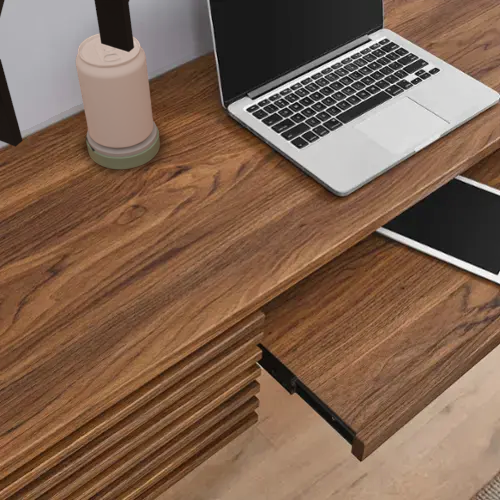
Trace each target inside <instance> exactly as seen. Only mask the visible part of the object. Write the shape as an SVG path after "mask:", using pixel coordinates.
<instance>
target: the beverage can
mask: <svg viewBox="0 0 500 500" xmlns="http://www.w3.org/2000/svg"><path fill="white" fill-rule="evenodd" d="M133 42H134V48H133V49H132V50H131V51H130V52H127V51H123V50H120V49H117V48H114V47H111V46H108V45H104V44H101V39H100V33H96V34H92V35H89V36H88V37H87V38H85V39H83V40H82V41H81V42H80V44H79V46H78V49H77V54H76V57H75V66H76V73H77V78H78V83H79V88H80V94H81V99H82V105H83V110H84V116H85V119H86V125H87V131H89V135H90V137H91V138H92V139H93V140H94V141H95V142H97V143H98V144H100V145H103V146H106V147H111V148H124V147H129V146H133V145H136V144H138V143H140V142H142V141H144V140H145V139H146V138H147V137H148V136H149V135H150V134H151V132H152V130H153V121H154V118H153V110H152V109H153V108H152V100H151V92H150V81H149V72H148V64H147V55H146V52H145V50H144V48H143V47H142V46H141V43H140V41H139V40H138V39H137V38H136V37H135V36H133Z"/></svg>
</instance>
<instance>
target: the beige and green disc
mask: <svg viewBox="0 0 500 500" xmlns="http://www.w3.org/2000/svg"><path fill="white" fill-rule="evenodd" d="M160 140H161V139H160V131H159V128H158V126H157V124H156V123H155V120H153V130H152V132H151V134H150V135H149V136H148V137H147V138H146V139H145V140H144V141H142V142H140V143H138V144H136V145H133V146H129V147H124V148H111V147H106V146H103V145H100V144H98V143H97V142H95V141H94V140H93V139H92V138H91V137H90V135H89V131H88V130H87V132H86V136H85V143H86V147H87V152H88V155H89V157H90V158H91V160H92V161H93V162H94V163H96V164H97V165H99V166H101V167H103V168H107V169H112V170H129V169H135V168H138V167H140V166H143V165H145V164H147V163H148V162H150V161H151V160H152V159H154V158H155V157H156V155H157V154H158V153H159V150H160V147H161V141H160Z"/></svg>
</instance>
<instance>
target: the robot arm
mask: <svg viewBox="0 0 500 500" xmlns="http://www.w3.org/2000/svg"><path fill="white" fill-rule="evenodd" d="M5 1H6V0H0V17H2V12H3V8H4V3H5ZM94 7H95V14H96V20H97V25H98V32H99V33H100V39H101V44H104V45H108V46H111V47H114V48H117V49H120V50H123V51H127V52H130V51H131V50H132V49H133V48H134V42H133V37H134V34H133V27H132V20H131V19H132V18H131V11H130V10H131V9H130V0H94ZM99 33H98V34H99ZM23 141H24V140H23V136H22V132H21V129H20V124H19V121H18V118H17V114H16V111H15V107H14V102H13V100H12V95H11V92H10V88H9V84H8V80H7V76H6V74H5V70H4V65H3V62H2V59H1V58H0V142H2V143H5V144H8V145H10V146H13V147H16V148H17V146H19V145H20V144H21V143H22V142H23Z"/></svg>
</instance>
